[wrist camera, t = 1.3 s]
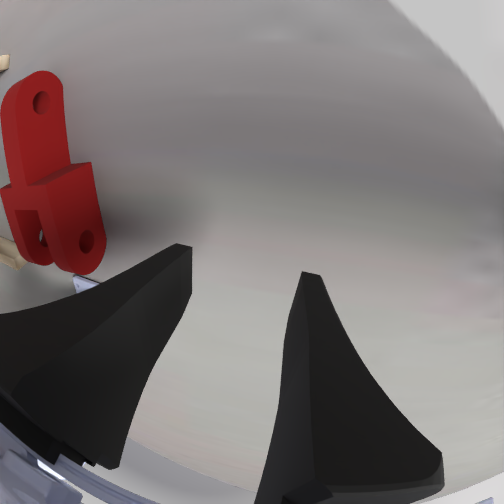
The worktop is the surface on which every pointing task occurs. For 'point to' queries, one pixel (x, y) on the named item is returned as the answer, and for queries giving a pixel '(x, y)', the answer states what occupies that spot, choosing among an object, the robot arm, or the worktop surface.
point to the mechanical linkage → (48, 181)
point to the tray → (3, 248)
